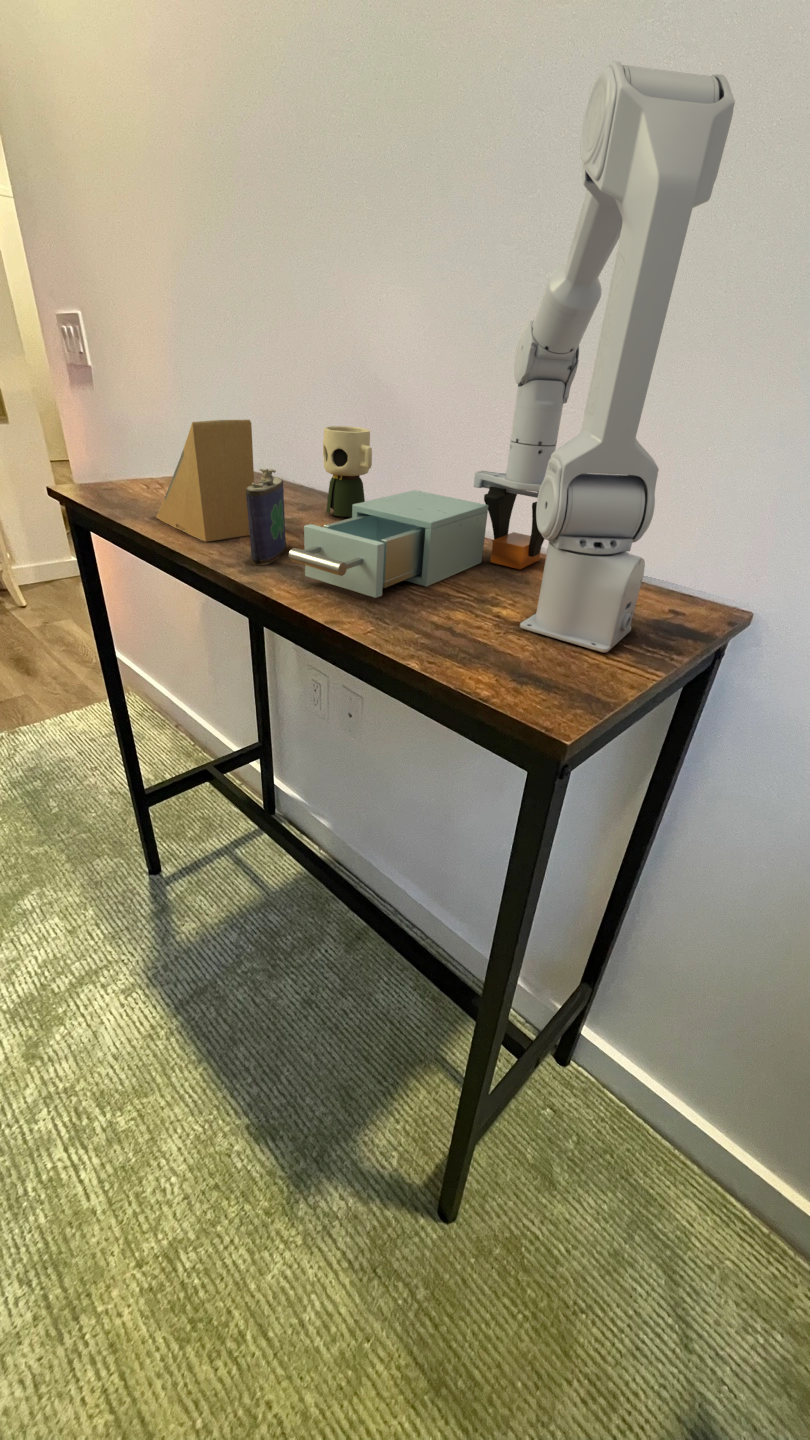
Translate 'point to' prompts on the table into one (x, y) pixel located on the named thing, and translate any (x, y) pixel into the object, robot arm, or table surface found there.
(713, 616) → the table surface
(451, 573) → the cabinet
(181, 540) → the table surface
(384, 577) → the drawer
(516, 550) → the block
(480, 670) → the table surface
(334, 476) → the character mug
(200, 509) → the sandwich container
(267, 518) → the flask
